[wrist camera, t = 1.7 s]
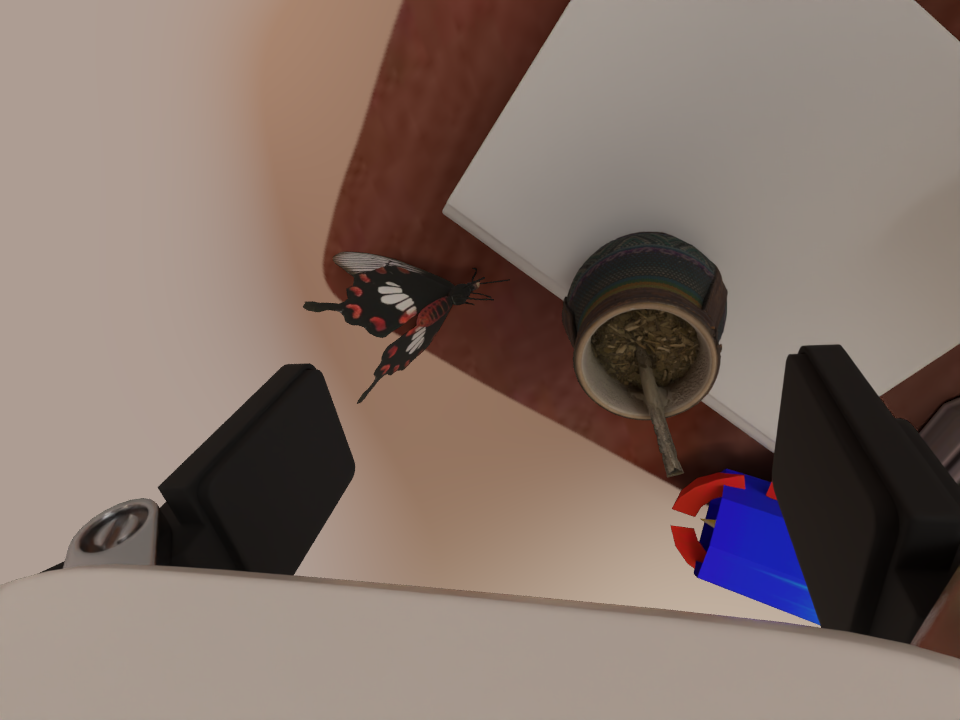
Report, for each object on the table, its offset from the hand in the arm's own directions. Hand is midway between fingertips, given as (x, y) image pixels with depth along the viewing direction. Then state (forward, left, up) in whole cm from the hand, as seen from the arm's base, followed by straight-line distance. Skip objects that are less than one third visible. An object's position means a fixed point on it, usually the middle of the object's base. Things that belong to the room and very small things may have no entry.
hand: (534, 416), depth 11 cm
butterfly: (+5, +8, -14) cm, 17 cm away
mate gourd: (-5, +3, -18) cm, 19 cm away
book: (-7, -2, -22) cm, 23 cm away
